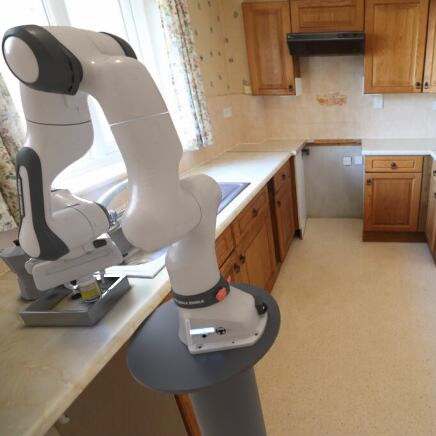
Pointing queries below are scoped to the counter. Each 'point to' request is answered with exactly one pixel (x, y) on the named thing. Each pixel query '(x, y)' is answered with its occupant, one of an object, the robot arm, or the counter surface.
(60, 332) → the counter surface
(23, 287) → the coffeepot
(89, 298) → the supplement bottle
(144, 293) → the counter surface
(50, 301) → the shallow rectangular grey tray
